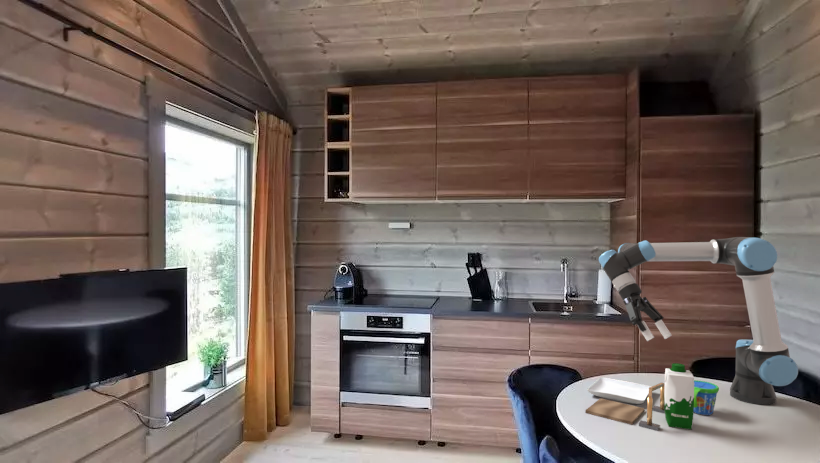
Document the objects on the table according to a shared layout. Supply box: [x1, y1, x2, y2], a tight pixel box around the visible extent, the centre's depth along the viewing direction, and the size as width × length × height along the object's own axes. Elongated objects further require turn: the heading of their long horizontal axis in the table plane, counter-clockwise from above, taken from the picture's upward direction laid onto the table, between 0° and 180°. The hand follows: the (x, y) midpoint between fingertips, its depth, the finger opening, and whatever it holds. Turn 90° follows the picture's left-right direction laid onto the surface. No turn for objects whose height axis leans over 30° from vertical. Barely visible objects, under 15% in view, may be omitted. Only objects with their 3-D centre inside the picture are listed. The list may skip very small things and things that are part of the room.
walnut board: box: [584, 397, 646, 426], centre depth 180 cm, size 16×16×1 cm
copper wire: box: [638, 382, 665, 432], centre depth 174 cm, size 6×21×10 cm, turn 140°
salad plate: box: [587, 376, 653, 405], centre depth 198 cm, size 21×21×3 cm
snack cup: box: [693, 379, 720, 416], centre depth 181 cm, size 16×10×10 cm
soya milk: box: [664, 362, 695, 430], centre depth 169 cm, size 9×9×20 cm
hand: (659, 338), depth 176 cm, fingers open, 13 cm apart
